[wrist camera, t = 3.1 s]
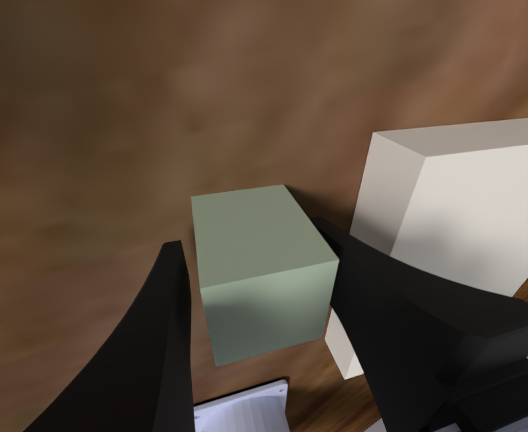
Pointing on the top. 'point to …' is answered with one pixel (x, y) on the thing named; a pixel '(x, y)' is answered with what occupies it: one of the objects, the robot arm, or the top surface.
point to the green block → (260, 272)
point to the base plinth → (445, 208)
